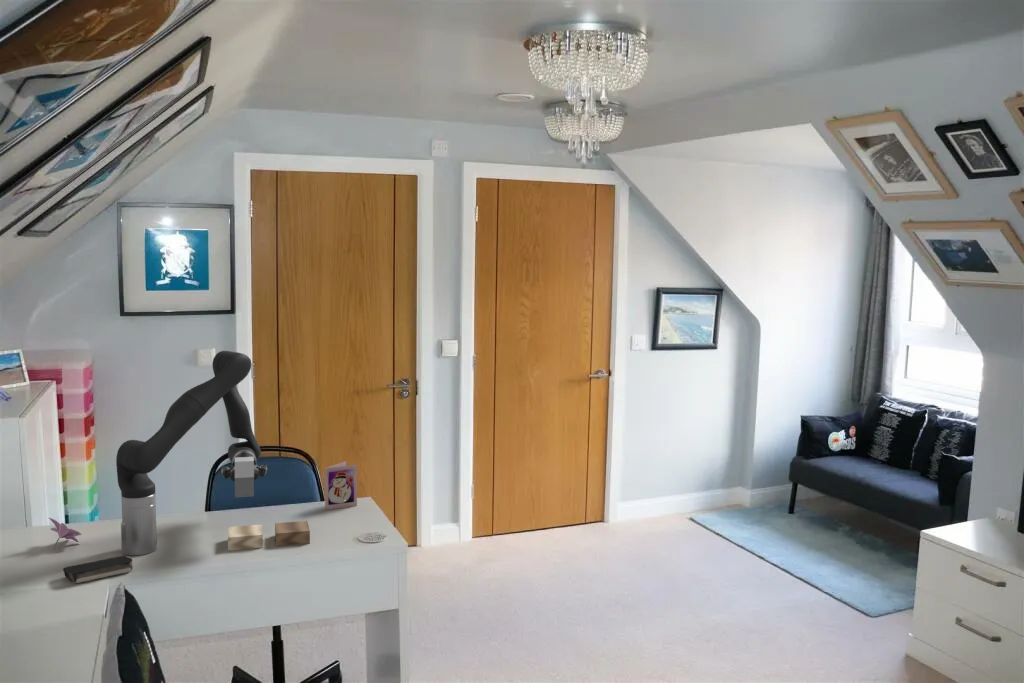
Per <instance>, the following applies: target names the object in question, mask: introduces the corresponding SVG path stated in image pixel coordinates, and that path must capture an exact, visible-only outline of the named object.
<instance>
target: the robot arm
mask: <svg viewBox="0 0 1024 683" xmlns="http://www.w3.org/2000/svg"><path fill="white" fill-rule="evenodd" d="M251 369H252V360H251V358H250V357H249V355H247V354H245V353H241V352H237V351H229V350H220V351H218V352H217V353H216V354H215V355H214V357H213V359H212V370H213V374H214V377H212V378H211V379H208V380H207V381H204V382H203V383H200V384H198V385H196V386H194V387H191V388H190V389H188V390H186V391H185V392H183V394H182V395H181V396H179V398H177V399H176V400H175V401H174V402H173V403H172V404H171V406H170V407H169V408H168V410H167V413H166V415H165V418H164V420H163V423H162V426H161V427H160V428H159V429H158V430H157V432H155V433H154V434H153V435H152V436H151V437H150V438H148V439H147V440H146V441H142V440H138V439H129V440H126V441H124V442H123V443H122V444H121V445H119V448H118V450H117V453H116V459H115V460H116V461H115V462H116V463H115V464H116V476H117V477H116V478H117V485H118V487H119V490H120V492H121V493H120V495H121V496H120V497H121V523H120V541H121V542H120V543H121V556H124V555H125V556H127V555H128V556H142V555H143V556H144V555H147V554H150V553H152V552H155V551H156V550H157V548H158V542H157V541H158V540H157V505H156V504H157V503H156V501H157V497H156V484H155V483H154V481H152V479H151V478H150V477H149V475H148V473H151V472H153V471H154V470H155V469H156V468H157V467H158V466H159V465H160V464H161V462H163V460H164V459H165V458H166V457H167V455H168V454H169V452H171V450H172V449H173V448H174V447H175V445H176V444H177V443H178V442H180V440H181V439H182V438H183V437H184V436H186V434H187V432H189V431H190V430H191V429H192V428H193V426H195V425H197V423H198V422H199V421H200V420H201V419H202V418H203V417H204V416H205V415H206V414H207V413H208V412H209V411H210V409H211V408H213V407H214V406H215V405H216V404H217V403H218V402H219V401H220V400H221V399H222V400H223V401H222V402H223V403H224V406H225V407H224V408H225V411H226V415H227V421H228V427H229V432H230V435H231V438H234V439H240V440H241V439H242V440H245V441H241V442H233V443H232V444H230V445H229V447H228V448H227V449H228V450H227V455H228V459H229V461H230V463H231V466H230V467H228V466H226V465H222V466H221V475H222V477H223V478H224V479H226V480H227V479H229V480H230V481H232V482H235V458H236V457H254V481H257V479H259V476H260V477H261V478H262V477H265V476H266V474H267V472H268V464H267V463H263V464H261V465H260V466H259V464H258V463H257V461H258V459H260V457H261V455H262V449H261V447H260V444H259V442H258V440H257V439H256V436H255V435H254V431H253V427H252V422H251V416H250V412H249V408H248V406H247V404H246V403H245V401H244V400H243V397H242V396H241V394H240V391H239V390H238V387H237V385H238V384H239V383H241V382H243V380H245V378H246V377H247V376H248V375H249V373H250V371H251Z"/></svg>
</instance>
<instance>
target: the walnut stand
mask: <svg viewBox="0 0 1024 683" xmlns="http://www.w3.org/2000/svg"><path fill="white" fill-rule="evenodd" d="M274 534H275V535H274V537H275V546H276V547H283V546H295V545H306V544H310V543H311V539H310V538H311V536H310V535H311V530H310V526H309V523H308V520H301V521H290V522H289V521H288V522H287V521H285V522H275V523H274Z"/></svg>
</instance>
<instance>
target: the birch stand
mask: <svg viewBox="0 0 1024 683" xmlns="http://www.w3.org/2000/svg"><path fill="white" fill-rule="evenodd" d="M227 531H228V532H227V551H237V550H238V551H239V550H247V549H249V550H250V549H259V548H264V546H263V545H264V544H263V542H264V540H263V538H264V536H263V534H264V533H263V524H253V525H252V524H251V525H249V524H248V525H239V526H238V525H237V526H229V527H228V529H227Z"/></svg>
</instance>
